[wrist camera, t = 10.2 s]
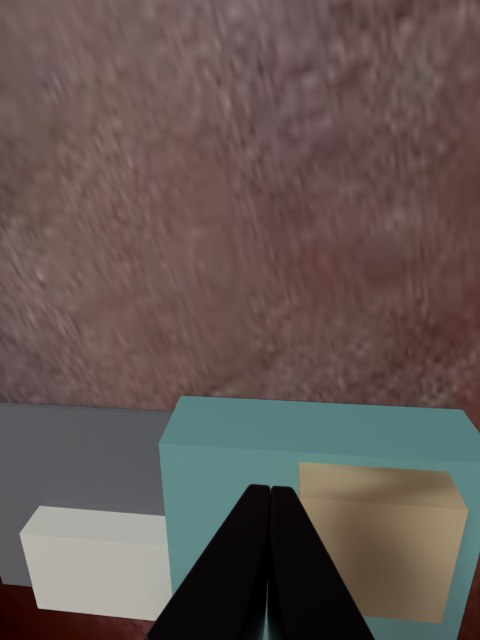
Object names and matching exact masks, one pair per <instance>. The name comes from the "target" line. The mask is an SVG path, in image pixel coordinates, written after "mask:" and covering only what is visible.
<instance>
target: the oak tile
mask: <svg viewBox="0 0 480 640" xmlns="http://www.w3.org/2000/svg"><path fill="white" fill-rule="evenodd" d="M297 496H298V498H299V499H300V501H301V503H302V505H303V507H304V509H305V511H306V512H307V514H308V516H309V518H310V520H311V522H312V523H313V525H314V527H315V529H316V531H317V533H318V535H319V536H320V538H321V540H322V542H323V544H324V546H325V547H326V549H327V551H328V553H329V555H330V557H331V559H332V560H333V562H334V564H335V566H336V568H337V570H338V571H339V573H340V575H341V577H342V579H343V581H344V583H345V584H346V586H347V588H348V590H349V592H350V594H351V595H352V597H353V599H354V601H355V603H356V605H357V607H358V608H359V610H360V612H361V614H362V616H368V617H378V618H388V619H398V620H408V621H418V622H428V623H438V624H441V623H442V619H443V615H444V610H445V606H446V602H447V598H448V594H449V590H450V585H451V581H452V577H453V573H454V569H455V565H456V560H457V556H458V552H459V548H460V544H461V540H462V535H463V531H464V527H465V523H466V519H467V515H468V508H467V506H466V504H465V502H464V501H463V499H462V497H461V495H460V493H459V491H458V489H457V488H456V486H455V484H454V482H453V480H452V478H451V476H450V475H449V473H448V472H445V471H430V470H414V469H398V468H383V467H367V466H352V465H336V464H321V463H305V462H299V466H298V485H297Z"/></svg>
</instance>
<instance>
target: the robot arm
mask: <svg viewBox="0 0 480 640" xmlns="http://www.w3.org/2000/svg"><path fill="white" fill-rule="evenodd" d="M267 585H268V588H267ZM266 607H267V628H268V640H375V638H374V636H373V634H372V632H371V631H370V629H369V627H368V625H367V623H366V621H365V619H364V618H363V616H362V614H361V612H360V610H359V608H358V607H357V605H356V603H355V601H354V599H353V597H352V595H351V594H350V592H349V590H348V588H347V586H346V584H345V583H344V581H343V579H342V577H341V575H340V573H339V571H338V570H337V568H336V566H335V564H334V562H333V560H332V559H331V557H330V555H329V553H328V551H327V549H326V547H325V546H324V544H323V542H322V540H321V538H320V536H319V535H318V533H317V531H316V529H315V527H314V525H313V523H312V522H311V520H310V518H309V516H308V514H307V512H306V511H305V509H304V507H303V505H302V503H301V501H300V499H299V498H298V496H297V494H296V492H295V490H294V489H293V488H292V487H290V486H276V485H275V486H272V488H270V486H269V485H262V484H250V485H249V486H248V487H247V488H246V490H245V491H244V493H243V494H242V495H241V497H240V498H239V500H238V501H237V503H236V504H235V506H234V507H233V509H232V510H231V511H230V513H229V514H228V516H227V517H226V519H225V520H224V522H223V523H222V525H221V526H220V527H219V529H218V530H217V532H216V533H215V535H214V536H213V538H212V539H211V541H210V542H209V543H208V545H207V546H206V548H205V549H204V551H203V552H202V554H201V555H200V557H199V558H198V559H197V561H196V562H195V564H194V565H193V567H192V568H191V570H190V571H189V573H188V574H187V576H186V577H185V578H184V580H183V581H182V583H181V584H180V586H179V587H178V589H177V590H176V592H175V593H174V594H173V596H172V597H171V599H170V600H169V602H168V603H167V605H166V606H165V608H164V609H163V610H162V612H161V613H160V615H159V616H158V618H157V619H156V621H155V622H154V624H153V625H152V626H151V628H150V629H149V631H148V632H147V634H146V637H147V639H146V638H143V639H142V640H263V635H264V627H265V619H266Z"/></svg>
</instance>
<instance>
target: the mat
mask: <svg viewBox="0 0 480 640" xmlns="http://www.w3.org/2000/svg"><path fill="white" fill-rule="evenodd" d="M172 414H173V412H169V411H151V410H132V409H114V408H95V407H77V406H58V405H39V404H21V403H2V402H0V575H1V578H2V582H3V584H12V585H22V586H32V582H31V578H30V574H29V570H28V566H27V562H26V558H25V554H24V550H23V546H22V542H21V538H20V534H19V533H20V532H21V531H22V529H23V528H24V526H25V525H26V524H27V522H28V521H29V520H30V518H31V517H32V515H33V514H34V513H35V511H36V510H37V509H38V507H39V506H47V507H60V508H72V509H84V510H96V511H109V512H121V513H133V514H145V515H158V516H165V509H164V497H163V486H162V475H161V464H160V452H159V442H160V440H161V438H162V435H163V433H164V431H165V429H166V427H167V425H168V422H169V420H170V418H171V416H172ZM32 587H33V586H32Z"/></svg>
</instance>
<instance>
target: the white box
mask: <svg viewBox="0 0 480 640" xmlns="http://www.w3.org/2000/svg"><path fill="white" fill-rule="evenodd" d="M19 534H20V538H21V542H22V546H23V550H24V554H25V558H26V562H27V566H28V570H29V574H30V578H31V582H32V586H33V590H34V594H35V598H36V602H37V606H38V608H41V609H51V610H60V611H69V612H79V613H88V614H97V615H106V616H116V617H125V618H134V619H143V620H153V621H156V619H157V618H158V616H159V615H160V613H161V612H162V610H163V609H164V608H165V606H166V605H167V603H168V602H169V600H170V599H171V597H172V588H171V576H170V565H169V554H168V542H167V531H166V520H165V516H158V515H145V514H133V513H121V512H109V511H96V510H84V509H72V508H60V507H47V506H39V507H38V509H37V510H36V511H35V513H34V514H33V515H32V517H31V518H30V520H29V521H28V522H27V524H26V525H25V526H24V528H23V529H22V531H21V532H20V533H19Z"/></svg>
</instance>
